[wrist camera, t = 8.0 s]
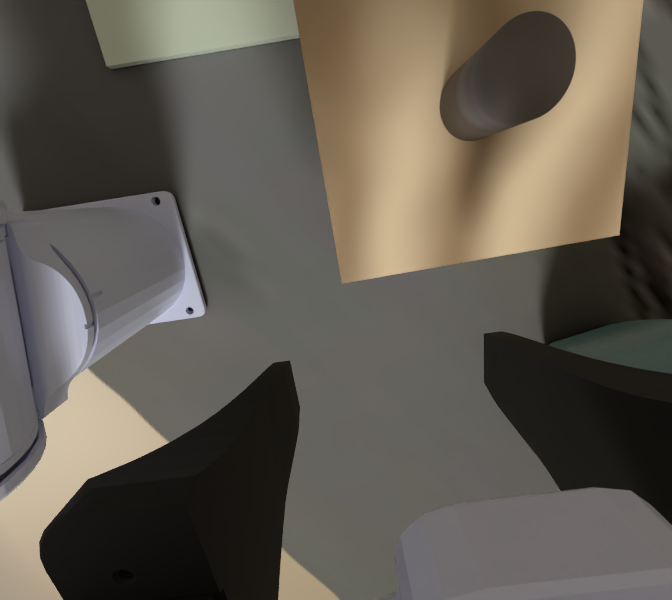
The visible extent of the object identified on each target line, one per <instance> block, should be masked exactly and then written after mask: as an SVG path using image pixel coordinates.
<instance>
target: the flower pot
mask: <svg viewBox="0 0 672 600" xmlns="http://www.w3.org/2000/svg"><path fill="white" fill-rule="evenodd" d="M549 346H552V347H555V348H558V349H562V350H565V351H568V352H572V353H575V354H579V355H582V356H586V357H590V358H593V359H597V360H602V361H606V362H610V363H615V364H620V365H624V366H629V367H634V368H639V369H645V370H651V371H657V372H664V373H670V374H672V319H646V320H635V321H628V322H621V323H615V324H610V325H607V326H603V327H600V328H597V329H594V330H591V331H588V332H585V333H582V334H578V335H575V336H572V337H568V338H565V339H562V340H558V341H555V342H552V343H550V344H549Z"/></svg>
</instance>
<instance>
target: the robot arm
mask: <svg viewBox="0 0 672 600" xmlns="http://www.w3.org/2000/svg"><path fill="white" fill-rule="evenodd" d="M156 197H158V198H159V199H160V205H157V204H156V203H155V198H156ZM188 307H191V308H192V309H193V310H194V313H191V312H190V311H189V310H188ZM206 310H207V308H206V304H205V300H204V297H203V293H202V290H201V287H200V283H199V280H198V276H197V273H196V269H195V266H194V262H193V259H192V256H191V252H190V249H189V245H188V242H187V238H186V235H185V231H184V228H183V225H182V221H181V218H180V214H179V211H178V207H177V204H176V200H175V198H174V196H173V194H171V193H170V192H168V191H159V192H153V193H147V194H140V195H134V196H128V197H121V198H115V199H109V200H102V201H96V202H90V203H83V204H77V205H71V206H64V207H58V208H52V209H45V210H39V211H19V212H7V206H6V204H5V202H4V201H3V200H1V199H0V501H1V500H2V499H4V498H5V497H6V496H8V495H9V494H10V493H11V492H12V491H13V490H14V489H15V488H16V487H17V486H19V485H20V484H21V483H22V482H23V481H24V480H25V478H26V477H27V476H28V475H29V474H30V473H31V472H32V471H33V469H34V468H35V466H36V465H37V464H38V462H39V461H40V459H41V457H42V454H43V452H44V449H45V446H46V438H47V437H46V432H45V427H44V423H43V421H42V420H41V419H43V418H44V417H46V416H47V415H48V414H49V413H50V412H52V411H53V410H54V409H56V408H57V407H58V406H60V405H61V404H62V403H63V402H64V401H66V400H67V399H68V395H67V394H68V393H67V391H68V387H69V384H70V382H71V380H72V379H73V378H74V377H75V376H77V375H78V374H79V373H80V372H82V371H83V370H85V369H86V368H88V367H89V366H91V365H92V364H93V363H95V362H96V361H98V360H99V359H100V358H102V357H103V356H105V355H106V354H107V353H109V352H110V351H111V350H113V349H114V348H116V347H117V346H118V345H120V344H121V343H123V342H124V341H125V340H127V339H128V338H130V337H131V336H132V335H134V334H135V333H137V332H138V331H139V330H141V329H142V328H144V327H145V326H146V325H148V324H153V323H160V322H167V321H173V320H180V319H187V318H194V317H200V316H202V315H203V314H204V313H205V312H206ZM484 383H485V385H486V386H487V388H488V390H489V392H490V394H491V395H492V397H493V399H494V400H495V402H496V404H497V405H498V407H499V408H500V409H501V411H502V412H503V413H504V415H505V416H506V417H507V418H508V420H509V421H510V422H511V423H512V425H513V426H514V427H515V429H516V430H517V431H518V432H519V434H520V435H521V436H522V437H523V439H524V440H525V441H526V442H527V444H528V445H529V446H530V447H531V449H532V450H533V451H534V452H535V454H536V455H537V456H538V458H539V459H540V460H541V462H542V463H543V464H544V466H545V467H546V469H547V470H548V472H549V473H550V475H551V476H552V478H553V479H554V481H555V482H556V484H557V486H558V487H559V489H560V490H561V491H557V492H549V493H540V494H532V495H524V496H516V497H507V498H499V499H491V500H482V501H474V502H466V503H458V504H451V505H448V506H444V507H441V508H438V509H435V510H432V511H429V512H426V513H423V514H422V515H421V516H420V517H419V518H418V519H417V520H416V521H415V522H413V523H412V524H411V525H410V526H409V527H408V528H407V529H406V530H405V531H404V532H403V533H402V534H401V535H400V538H399V542H398V546H397V550H396V555H395V565H396V572H397V580H398V585H397V591H396V592H393V593H390V594H388V595H385V596H382V597H380V598H377V599H374V600H672V374H670V373H664V372H657V371H651V370H645V369H639V368H634V367H629V366H624V365H620V364H615V363H610V362H606V361H602V360H597V359H593V358H590V357H586V356H582V355H579V354H575V353H572V352H568V351H565V350H562V349H558V348H555V347H552V346H549V345H546V344H543V343H539V342H536V341H533V340H530V339H527V338H524V337H521V336H517V335H514V334H510V333H506V332H501V331H500V332H493V333H486V334H484ZM299 413H300V406H299V401H298V396H297V392H296V387H295V382H294V378H293V373H292V368H291V364H290V361H284V362H276V363H273V364H272V365H271V366H269V367H268V368H267V369H266V370H265V371H264V372H263V373H262V374H261V375H260V376H259V377H258V378H257V379H256V380H255V381H254V382H252V383H251V384H250V385H249V386H248V387H247V388H246V389H245V390H244V391H243V392H242V393H240V394H239V395H238V396H237V397H236V398H235V399H233V400H232V401H231V402H230V403H229V404H228V405H226V406H225V407H224V408H222V409H221V410H220V411H219V412H217V413H216V414H214V415H213V416H212V417H210V418H209V419H207V420H206V421H204V422H203V423H202V424H200V425H198V426H197V427H195V428H194V429H192V430H190V431H189V432H187V433H185V434H184V435H182V436H180V437H178V438H177V439H175V440H173V441H172V442H170V443H168V444H166V445H164V446H162V447H161V448H158V449H156V450H154V451H153V452H150V453H148V454H146V455H144V456H142V457H140V458H138V459H136V460H134V461H131V462H129V463H127V464H124V465H122V466H119V467H117V468H115V469H112V470H110V471H107V472H105V473H103V474H100V475H98V476H95V477H93V478H90V479H88V480H87V481H86V482H85V483H84V484H83V485H82V487H81V488H80V489H79V490H78V491H77V492H76V494H75V495H74V496H73V497H72V498H71V499H70V501H69V502H68V503H67V504H66V505H65V507H64V508H63V509H62V510H61V511H60V512H59V513H58V515H57V516H56V517H55V518H54V519H53V520H52V522H51V523H50V524H49V525H48V526H47V528H46V529H45V530H44V532H43V534H42V537H41V540H40V542H39V544H40V559H41V561H42V563H43V566H44V568H45V570H46V572H47V574H48V575H49V577H50V579H51V580H52V582H53V583H54V585H55V587H56V588H57V590H58V592H59V593H60V595H61V597H62V598H63V600H278V591H279V574H280V559H281V547H282V534H283V523H284V512H285V501H286V495H287V488H288V483H289V478H290V473H291V468H292V463H293V457H294V452H295V447H296V442H297V436H298V430H299ZM39 417H40V418H39Z"/></svg>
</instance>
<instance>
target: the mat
mask: <svg viewBox="0 0 672 600" xmlns="http://www.w3.org/2000/svg"><path fill="white" fill-rule="evenodd" d="M86 3H87V6H88V9H89V12H90V16H91V19H92V22H93V25H94V28H95V32H96V35H97V38H98V41H99V44H100V47H101V51H102V54H103V57H104V60H105V63H106V66H107V67H108V68H110V69H115V68H122V67H128V66H134V65H140V64H146V63H152V62H158V61H164V60H170V59H176V58H182V57H188V56H194V55H200V54H206V53H212V52H218V51H224V50H230V49H236V48H242V47H248V46H254V45H260V44H267V43H273V42H279V41H285V40H291V39H297V38H300V37H299V32H298V26H297V20H296V14H295V8H294V3H293V0H86Z"/></svg>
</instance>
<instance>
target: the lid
mask: <svg viewBox="0 0 672 600" xmlns="http://www.w3.org/2000/svg"><path fill="white" fill-rule="evenodd" d="M293 3H294V8H295V14H296V20H297V26H298V32H299V37H300V43H301V49H302V55H303V60H304V66H305V72H306V78H307V84H308V89H309V95H310V101H311V107H312V113H313V118H314V124H315V130H316V136H317V141H318V147H319V153H320V159H321V165H322V170H323V176H324V182H325V188H326V194H327V199H328V205H329V211H330V217H331V222H332V228H333V234H334V240H335V246H336V251H337V257H338V263H339V269H340V274H341V280H342V283H348V282H354V281H359V280H365V279H371V278H377V277H382V276H388V275H394V274H400V273H405V272H411V271H417V270H423V269H428V268H434V267H440V266H445V265H451V264H457V263H463V262H468V261H474V260H480V259H486V258H491V257H497V256H503V255H509V254H514V253H520V252H526V251H532V250H537V249H543V248H549V247H554V246H560V245H566V244H572V243H577V242H583V241H589V240H595V239H600V238H606V237H612V236H618V235H619V234H620V224H621V215H622V205H623V195H624V185H625V175H626V165H627V155H628V145H629V136H630V126H631V116H632V106H633V96H634V86H635V76H636V67H637V57H638V47H639V37H640V27H641V17H642V7H643V0H293Z"/></svg>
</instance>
